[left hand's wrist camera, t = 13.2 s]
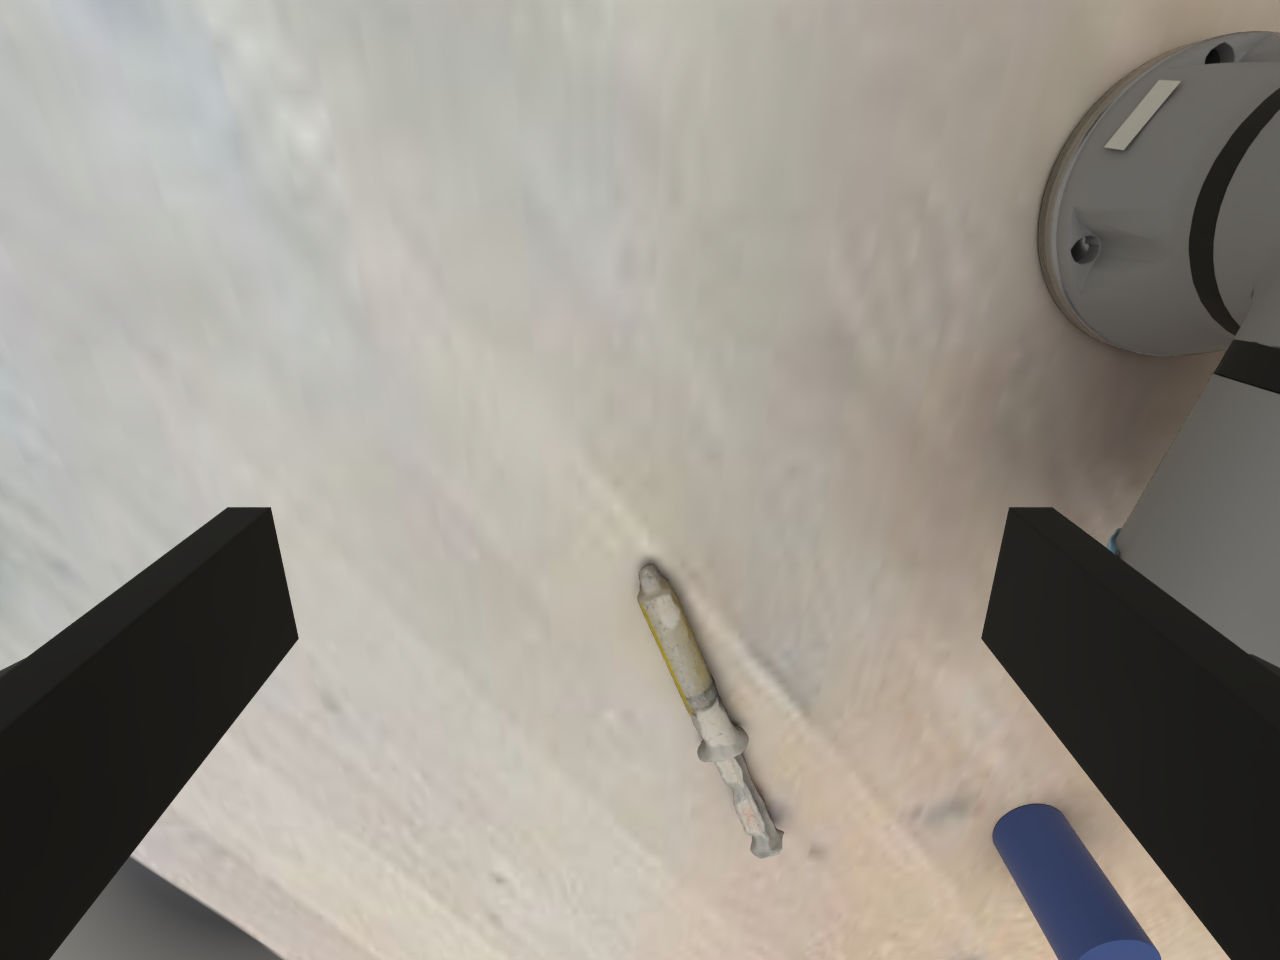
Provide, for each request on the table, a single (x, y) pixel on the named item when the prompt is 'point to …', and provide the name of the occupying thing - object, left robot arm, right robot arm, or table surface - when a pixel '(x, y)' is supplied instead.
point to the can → (1068, 888)
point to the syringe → (706, 708)
